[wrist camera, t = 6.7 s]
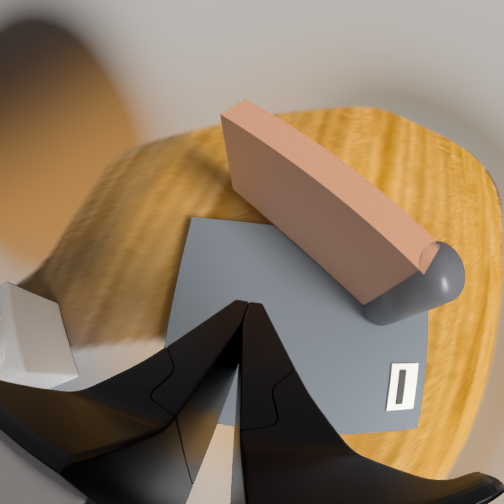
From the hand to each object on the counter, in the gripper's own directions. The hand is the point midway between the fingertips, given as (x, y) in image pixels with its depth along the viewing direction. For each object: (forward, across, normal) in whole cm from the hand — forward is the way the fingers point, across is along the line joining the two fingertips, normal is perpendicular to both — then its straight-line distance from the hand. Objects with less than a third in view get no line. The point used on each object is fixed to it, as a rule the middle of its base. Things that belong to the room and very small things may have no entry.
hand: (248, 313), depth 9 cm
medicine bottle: (+4, +19, +12) cm, 23 cm away
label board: (+9, -4, +7) cm, 12 cm away
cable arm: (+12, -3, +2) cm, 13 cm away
